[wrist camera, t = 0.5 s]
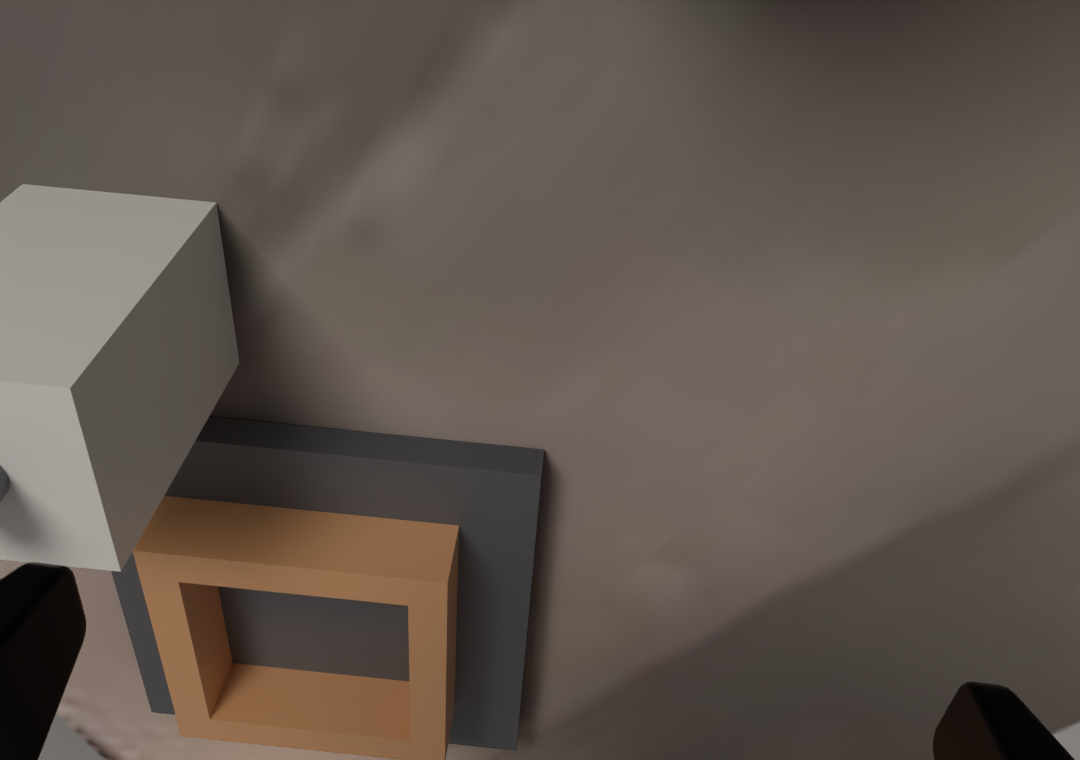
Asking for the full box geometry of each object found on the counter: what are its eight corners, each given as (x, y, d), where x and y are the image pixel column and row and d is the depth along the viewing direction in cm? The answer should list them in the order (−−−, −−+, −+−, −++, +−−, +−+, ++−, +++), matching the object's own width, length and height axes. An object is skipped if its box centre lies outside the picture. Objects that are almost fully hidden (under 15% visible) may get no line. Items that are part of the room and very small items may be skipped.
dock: (519, 723, 32) (510, 808, 30) (163, 686, 32) (126, 767, 30) (544, 450, 25) (535, 532, 22) (88, 404, 25) (30, 481, 23)
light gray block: (239, 362, 24) (85, 634, 17) (66, 346, 24) (-156, 609, 17) (216, 202, 21) (23, 447, 15) (22, 183, 22) (-260, 418, 15)
